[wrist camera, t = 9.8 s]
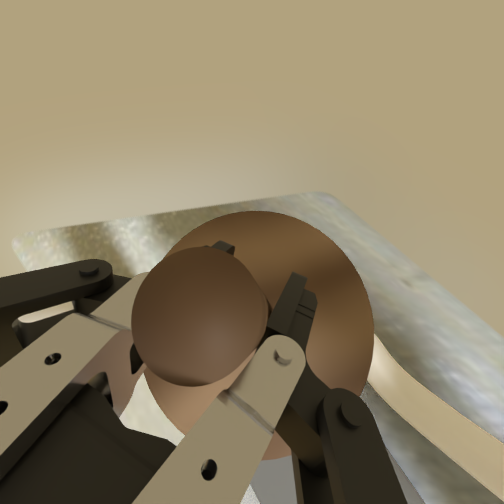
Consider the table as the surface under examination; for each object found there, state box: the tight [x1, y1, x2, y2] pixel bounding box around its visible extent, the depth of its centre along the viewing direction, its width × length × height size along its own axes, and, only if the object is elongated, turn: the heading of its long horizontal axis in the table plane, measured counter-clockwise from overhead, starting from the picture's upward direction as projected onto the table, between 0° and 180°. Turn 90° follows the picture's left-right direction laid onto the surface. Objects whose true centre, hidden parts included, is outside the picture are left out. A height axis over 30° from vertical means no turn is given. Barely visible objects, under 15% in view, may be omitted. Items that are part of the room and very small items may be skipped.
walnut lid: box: [131, 211, 374, 461], centre depth 10 cm, size 14×14×10 cm
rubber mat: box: [250, 448, 425, 504], centre depth 26 cm, size 15×15×1 cm
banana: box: [367, 334, 504, 502], centre depth 20 cm, size 5×19×15 cm, turn 47°
